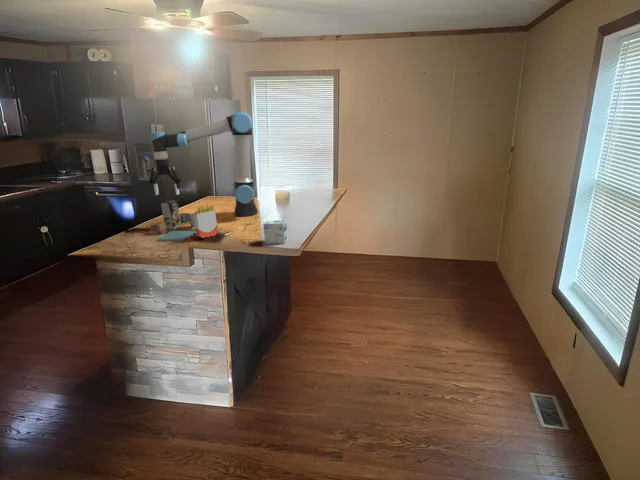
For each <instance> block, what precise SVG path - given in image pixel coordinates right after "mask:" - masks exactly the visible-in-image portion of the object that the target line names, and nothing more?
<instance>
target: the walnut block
mask: <svg viewBox="0 0 640 480" xmlns="http://www.w3.org/2000/svg"><path fill="white" fill-rule="evenodd" d="M149 227H150V228H149V229H150V231H151V235H152V236H163V235H165V234H167V229H166V226H165V222H164V221H163V222H162V221H161V222H160V221H159V222H156V221H155V222H154V223H152V224H150V225H149Z"/></svg>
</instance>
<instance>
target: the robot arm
mask: <svg viewBox="0 0 640 480" xmlns="http://www.w3.org/2000/svg"><path fill="white" fill-rule="evenodd" d="M228 132H229V133H230V134H231V136H233V137H234V144H235V146H234V148H235V149H234V150H235V168H236V171H235V173H236V174H235V175H236V179H234V180H233V181H232V182H233V190H234V198H235V208H234V216H235V217H243V218H244V217H251V216H254V215H257V214H258V213H259V210H258V207H257V205H256V203H255V200H254V199H255V191H254V190H255V189H254V188H255V187H254V180H253V179H252V177H251V175H252V174H251V173H252V172H251V169H252V168H251V141H250V139H251V137H252V136H253V119H252V117H251V115H250V114H249V113H247V112H245V111H237V112H235V113H234V114H231V115H229V116H226V117H225V118H224V119H221V120H218V121H214V122H210V123H207V124H203V125H201V126H197V127H194V128H190V129H187V130H186V129H185V130H183V131H179V132H178V131H177V132H175V133H171V134H165V132H164V131H163V130H161V131H153V132H151V133H150V139H151V144H152V145H151V146H152V150H153V151H152V152H153V156H154V157H153V158H154V159H155V160H154V162H155V166H154V167H151V171H150V172H151V173H150V175H149V176H150V177H149V180H148V183H149V184H152V189H153V190H154V193H155V196H159V195H160V193H159V192H160V191H159V185H158V183H157V182H158V180H159V179H160V176H163V175H165V176H168V177H169V178H170V179H171V180H172V182H174V189H175V195H176V196H177V195H180V187H181V186H180V183H182V182H183V180H182V179H181V177H180V174H179V173H178V172H177V170H176V168H175V166H174V165H173V166H170V160H169V155H168V149H169V148H183V147H187V146H188V144H189V143H193V142H197V141H200V140H203V139H204V140H205V139H207V138H211V137H215V136H218V135H221V134H225V133H228Z"/></svg>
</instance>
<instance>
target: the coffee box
mask: <svg viewBox="0 0 640 480" xmlns="http://www.w3.org/2000/svg"><path fill="white" fill-rule="evenodd" d="M160 205H161V212H162V218H163V222H165V226H166V230H176V229H177V228H179V227H181V226H182V225H183V224H181V218H180V214H181V213H180V208H179V207H180V206H179V202H178V200H177V199H176V200H175V199H172V200H166V201H164V202H161V203H160ZM180 225H181V226H180Z"/></svg>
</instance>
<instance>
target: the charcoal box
mask: <svg viewBox="0 0 640 480" xmlns="http://www.w3.org/2000/svg"><path fill="white" fill-rule="evenodd" d="M189 214H191V213H190V212H189V213H187V212H181V213H180V218H181V223H185V222H187V221H189V220H190V218H189ZM189 222H190V221H189ZM187 223H188V222H187ZM185 224H186V223H185Z"/></svg>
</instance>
